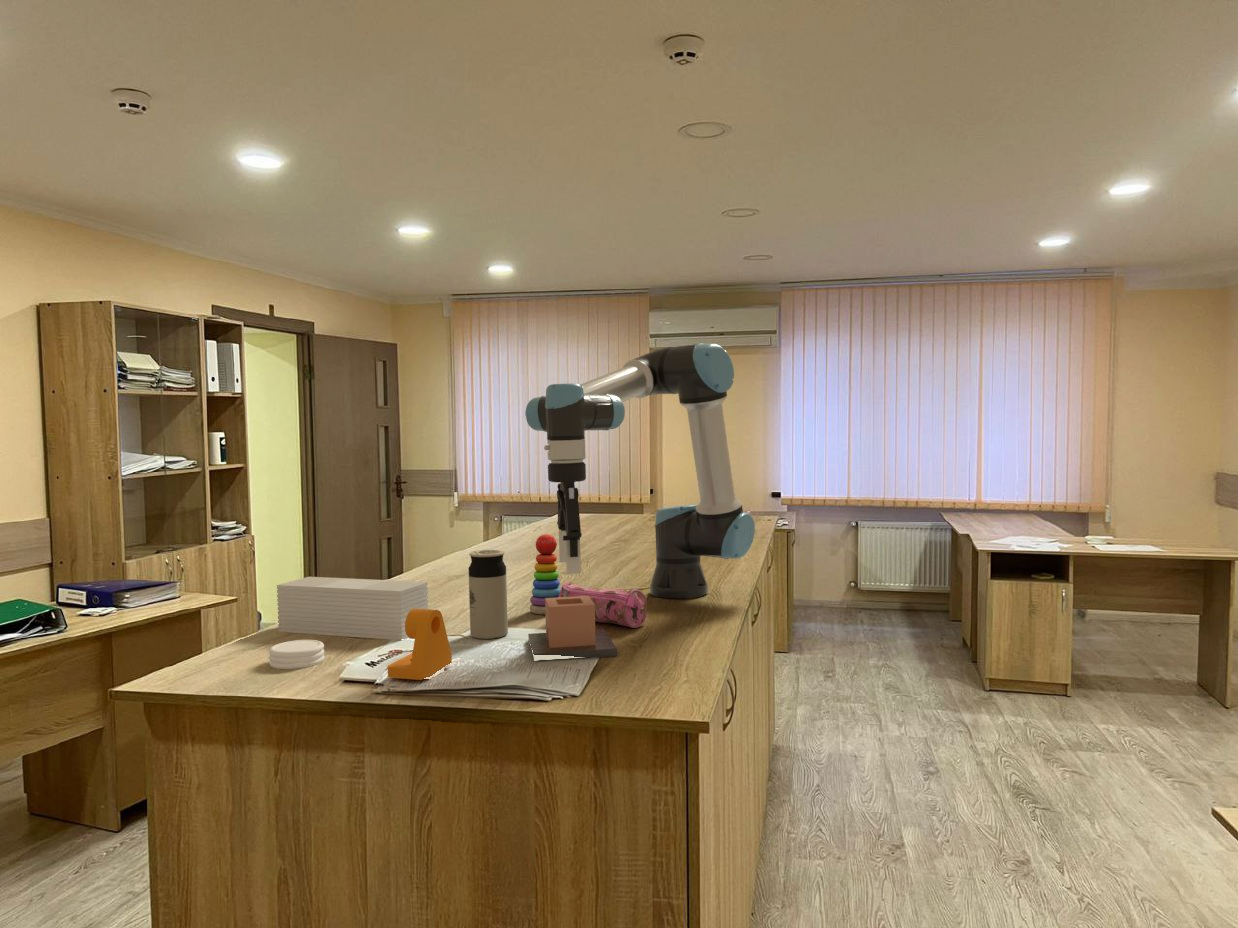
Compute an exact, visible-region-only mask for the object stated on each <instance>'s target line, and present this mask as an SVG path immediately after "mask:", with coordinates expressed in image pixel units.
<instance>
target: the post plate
mask: <svg viewBox="0 0 1238 928" xmlns="http://www.w3.org/2000/svg"><path fill="white" fill-rule="evenodd" d="M595 639H596V645H588V646H573V647H557V648H550V647H549V642H548V640H547V638H546V632H537V633H528V643H529V642H530V644H531V648H532V650H533V654H534V655H561V656H574V657H597V658H607V657H618V649H617V647H616V645H615V643H614V642H613V641H612V639H611V637H610V636H609V634H608V633H607V631H606V630H605V629H604V628H602V629H595ZM530 644H529V645H530ZM531 648H530V649H531Z"/></svg>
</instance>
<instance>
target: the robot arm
mask: <svg viewBox="0 0 1238 928" xmlns="http://www.w3.org/2000/svg"><path fill="white" fill-rule="evenodd" d="M734 368H735V367H734V365H733V361H732V358H731V357H730V355H729V353H728V351H727V350H725V349H724V347H722V345H720V344H716V343H695V344H687V345H678V346H667V347H662V348H659V349H656V350H652V351H650V352H647V353H646V354H642V355H640V356H638V357H636V358H633V359H630V360H628V361H627V362H626V363H625V364H624V365H623V366H622V367H621V368H619V369H616V370H614V371H610V373H606V374H604V375H601V376H599V377H596V378H594V379H591V380H588V381H586V382H583V383H572V382H569V383H554V384H548V386H547V387H546V389H545V396H544V395H542V396H538V397H533V398H531V399H530V400H529V402H527V405H526V407H525V412H524V413H525V420H526V422H527V425H528V426H529V427H530V428H531V429H532V430H534V431H537V432H539V431H540V432H545V433H546V439H547V440H546V441H547V443H546V445H544V447H543V448H544V449H543V450H544V451H547V460H548V461H550V463H548V464H547V478H548V479H547V480H548V481H549V482H550V483H557V490H556V498H557V522H556V524H557V527H558V528H557V529H558V549H559V550H558V551H559V563H565V564H566V565H565V566H566V574H567V575H573V574H576V575H578V574H582V561H581V560H582V558H581V556H582V555H581V538H582V536H583V535H582V531H581V529H582V528H581V519H580V505H579V497H580V496H579V495H580V494H579V489H578V487H576V486H575V483H576V482H579V483H580V482H583V481H585V480H586V479H587V476H586V475H587V470H586V469H587V468H586V467H587V466H586V465H587V464H586V463H585V462H584V460H585V459H586V457H587V456H586V454H587V453H586V439H585V438H586V437H585V432H586V431H609V430H615V429H616V428H619V427H620V426H621V424H622V423H623V422H624V420H625V414H626V413H625V412H626V411H625V409H626V408H625V404H624V402H626V401H629V400H631V399H633V398H636V399H644V398H646V397H648V396H653V395H654V396H655V395H678V399H679V400H678V401H679V404H680V405H681V406H682V407H684V408H685V409H686V412H687V419H688V424H689V426H688V427H689V431H690V437H691V445H692V451H693V452H692V453H693V458H694V465H695V471H696V479H697V485H698V486H697V487H698V491H699V499H700V502H699V503H698V504H697V503H695V504H688V505H687V504H685V505H678V506H671V507H663V508H660V509H658V510H656V513H655V524H654V527H655V555H656V556H655V559H656V560H655V561H656V563H655V568H654V572H653V575H652V578H651V580H650V581H651V582H650V585H649V588H650V589H649V594H650V595H651V596H653V597H657V598H663V599H693V598H698V597H704V596H706V595H707V594H708V593H707V592H708V591H709V590H708V589H709V588H708V582H707V579H706V576H705V573H704V570H703V567H702V563H701V557H710V558H719V559H724V560H728V559H735V560H737V559H741V558H743V557H744V556H745V555H747V553H748V552H749V551H750V549H751V547H752V544H753V542H754V538H755V537H754V536H755V529H756V528H755V527H756V526H755V519H754V518H753V517H752V515H751V513H748V512H746V511H744V510H743V508H744V507H743V503H742V501H741V500H739V499H738V498H737V497H736V496H735V490H734V489H735V488H734V481H733V475H732V474H733V473H732V467H731V460H730V453H729V447H728V438H727V430H726V424H725V423H726V422H725V417H724V409H723V403H724V401H726V399H727V398H728V393H727V392H728V391H729V390H730V389H731V388H732V386H733V384H734V380H733V379H734V378H735V369H734ZM705 594H706V595H705ZM703 595H704V596H703Z"/></svg>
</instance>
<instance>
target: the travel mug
mask: <svg viewBox="0 0 1238 928" xmlns="http://www.w3.org/2000/svg"><path fill="white" fill-rule="evenodd" d="M504 555H505V551H504V550H501V549H481V550H480V549H479V550H474V551H470V552H469V556H470V560H471V562H470V565H469V567H468V593H469V594H468V597H469V626H470V627H469V628H470V629H469V630H470V631H469V632H470V633H469V634H470V636H471V637H472V638H474V639H478V640H494V639H500V638H503V637H504V636H506V635H508V633H509V627H508V625H509V624H508V589H507V587H508V586H507V585H508V584H507V565H506V564H505V562H504Z"/></svg>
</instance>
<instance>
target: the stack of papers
mask: <svg viewBox="0 0 1238 928" xmlns="http://www.w3.org/2000/svg"><path fill="white" fill-rule="evenodd" d="M428 588H429V587H428V581H413V580H412V581H410V580H392V579H390V580H389V579H368V578H367V579H366V578H348V577H347V578H345V577H344V578H343V577H326V576H325V577H324V576H323V577H321V576H306V577H302V578H298V579H295V580H291V581H288V582H283V583H280V584H277V585H276V589H277V590H276V593H277V594H276V597H277V601H276V602H277V615H278V616H277V619H278V620H277V623H278V628H277V629H278V632H279V633H280V632H281V633H293V634H294V633H295V634H307V635H308V634H309V635H320V636H321V635H322V636H336V637H352V638H362V639H363V638H365V639H378V640H392V641H393V640H395V641H402V640H401V639H404V640H407V639H408V638H409V637H408V636H407V634H406V631H405V621H406V617H407V615H408V613H409V611H410V610H412V609H429V595H428V593H429V590H428ZM409 639H410V638H409Z"/></svg>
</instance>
